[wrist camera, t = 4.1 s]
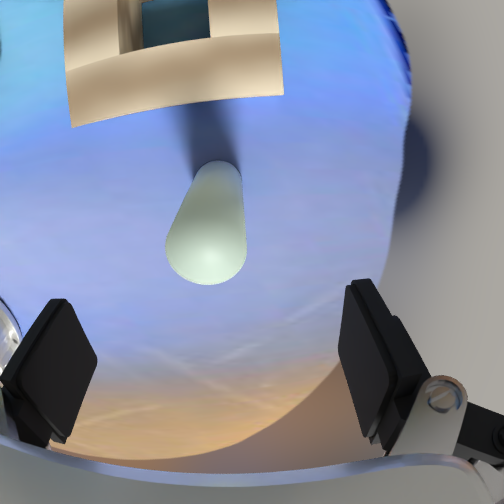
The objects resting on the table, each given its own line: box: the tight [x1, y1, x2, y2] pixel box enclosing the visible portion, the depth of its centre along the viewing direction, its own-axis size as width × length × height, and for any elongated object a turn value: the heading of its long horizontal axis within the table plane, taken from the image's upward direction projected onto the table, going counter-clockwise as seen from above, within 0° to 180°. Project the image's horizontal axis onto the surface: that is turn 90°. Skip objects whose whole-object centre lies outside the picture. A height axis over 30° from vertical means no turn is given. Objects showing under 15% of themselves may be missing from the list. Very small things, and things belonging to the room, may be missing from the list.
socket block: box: [63, 0, 284, 128], centre depth 16 cm, size 14×14×6 cm
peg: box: [165, 160, 247, 285], centre depth 20 cm, size 4×4×12 cm
